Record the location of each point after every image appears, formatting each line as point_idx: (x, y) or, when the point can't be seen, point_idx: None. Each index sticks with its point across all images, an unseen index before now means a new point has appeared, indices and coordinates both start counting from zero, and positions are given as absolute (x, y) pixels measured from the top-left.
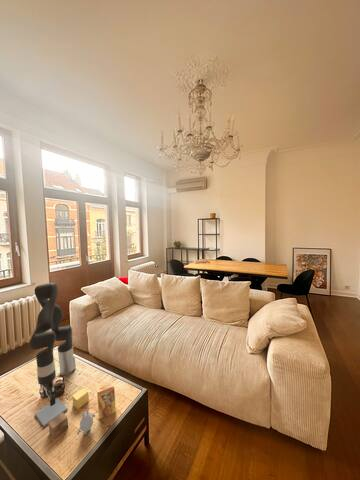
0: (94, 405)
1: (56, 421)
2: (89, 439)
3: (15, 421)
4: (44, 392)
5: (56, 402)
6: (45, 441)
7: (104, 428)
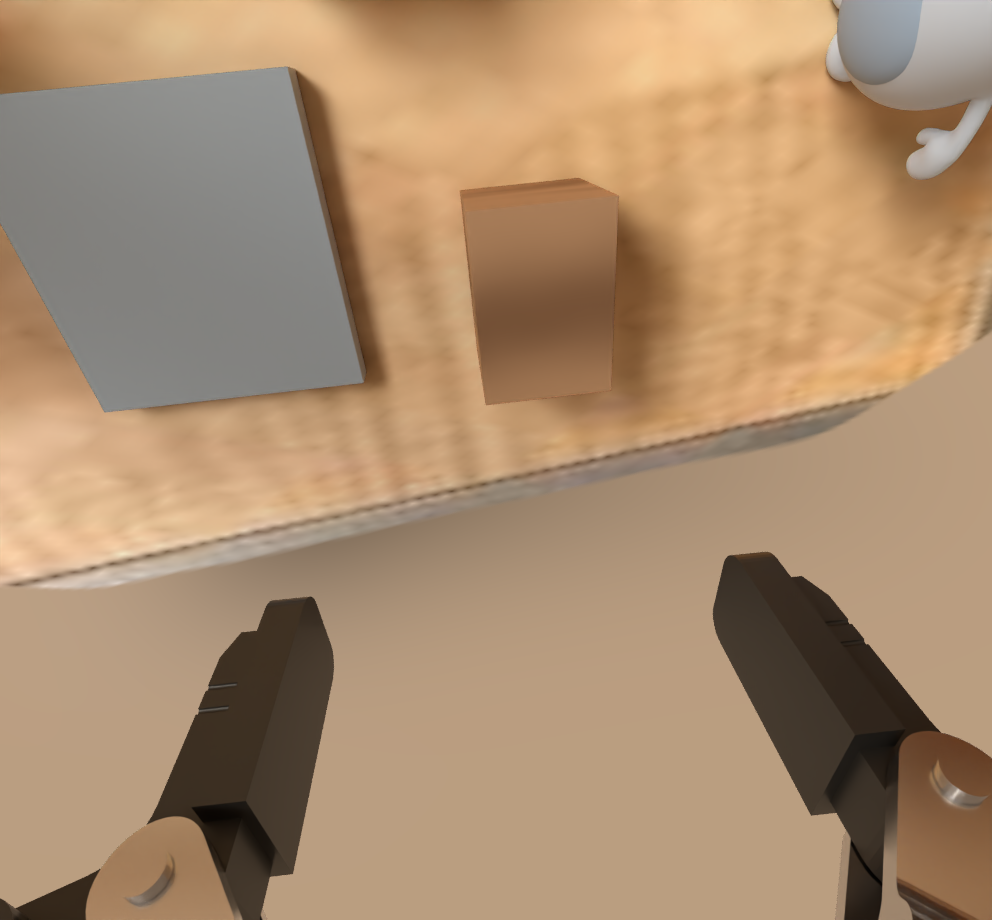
0: None
1: (552, 332)
2: None
3: (92, 532)
4: (301, 797)
5: (48, 157)
6: None
7: None
